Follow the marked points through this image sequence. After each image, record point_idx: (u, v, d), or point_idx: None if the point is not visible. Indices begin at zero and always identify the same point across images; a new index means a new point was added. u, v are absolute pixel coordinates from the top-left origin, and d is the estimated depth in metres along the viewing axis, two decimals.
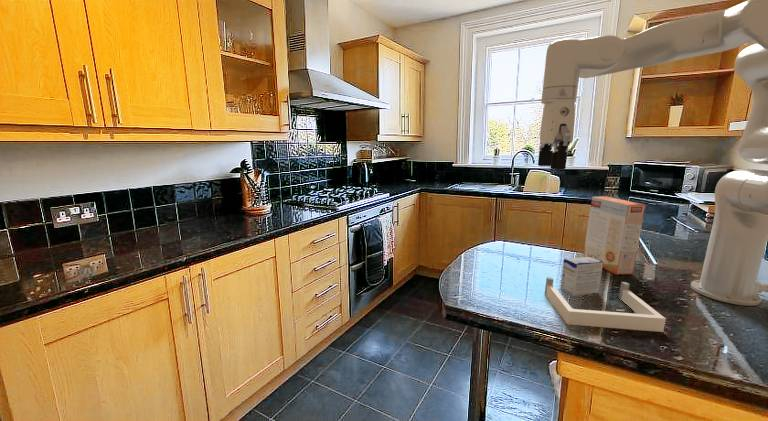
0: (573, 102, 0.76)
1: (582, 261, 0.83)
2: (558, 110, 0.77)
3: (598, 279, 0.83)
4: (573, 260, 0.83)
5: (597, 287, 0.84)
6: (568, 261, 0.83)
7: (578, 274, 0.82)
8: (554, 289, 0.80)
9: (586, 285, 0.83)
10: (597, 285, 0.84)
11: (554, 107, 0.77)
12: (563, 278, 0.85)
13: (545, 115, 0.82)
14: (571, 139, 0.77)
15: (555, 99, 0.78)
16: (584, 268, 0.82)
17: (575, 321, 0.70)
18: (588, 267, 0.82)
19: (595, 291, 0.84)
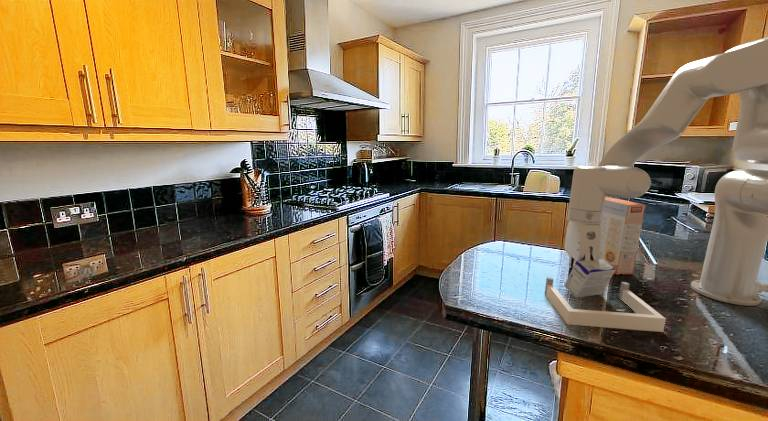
0: (599, 226, 0.80)
1: (595, 267, 0.79)
2: (585, 233, 0.80)
3: (605, 284, 0.81)
4: (586, 265, 0.79)
5: (601, 290, 0.82)
6: (580, 265, 0.79)
7: (588, 280, 0.79)
8: (554, 289, 0.80)
9: (591, 288, 0.81)
10: (602, 288, 0.82)
11: (581, 230, 0.81)
12: (570, 278, 0.83)
13: (571, 231, 0.85)
14: (597, 260, 0.81)
15: (582, 222, 0.81)
16: (595, 275, 0.78)
17: (575, 321, 0.70)
18: (599, 274, 0.79)
19: (598, 293, 0.83)
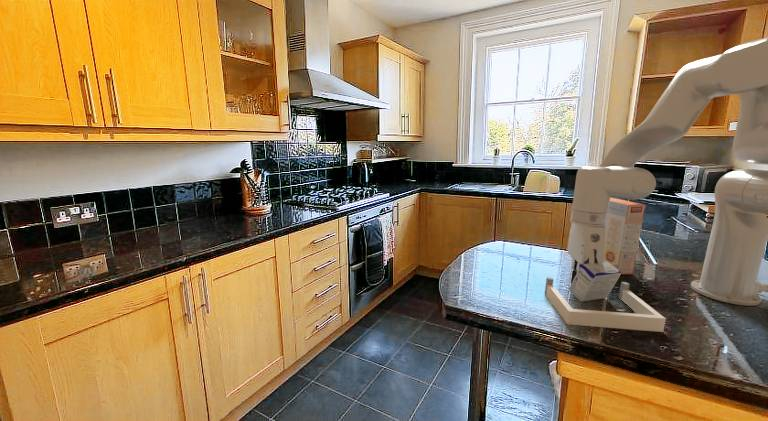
0: (604, 229, 0.78)
1: (600, 270, 0.77)
2: (589, 236, 0.78)
3: (610, 287, 0.79)
4: (591, 268, 0.77)
5: (607, 293, 0.80)
6: (586, 268, 0.78)
7: (593, 284, 0.77)
8: (554, 289, 0.80)
9: (597, 292, 0.79)
10: (608, 292, 0.80)
11: (584, 232, 0.79)
12: (575, 281, 0.81)
13: (574, 233, 0.83)
14: (601, 263, 0.79)
15: (585, 224, 0.79)
16: (600, 279, 0.76)
17: (575, 321, 0.70)
18: (605, 277, 0.77)
19: (604, 297, 0.81)
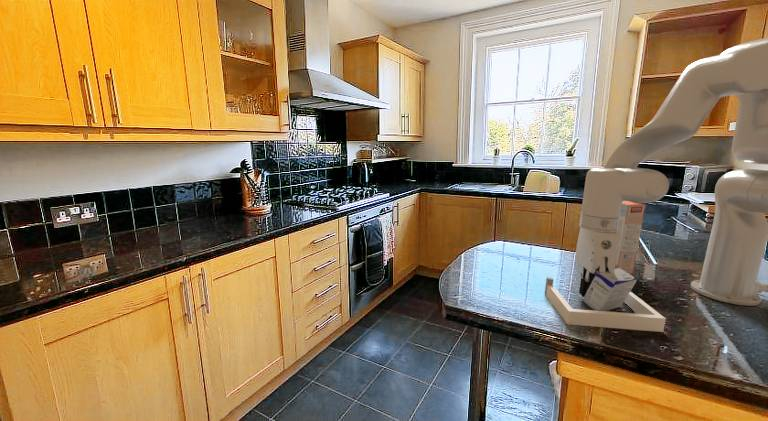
0: (615, 235, 0.73)
1: (617, 278, 0.72)
2: (599, 242, 0.73)
3: (626, 295, 0.75)
4: (608, 277, 0.73)
5: (622, 302, 0.76)
6: (603, 277, 0.73)
7: (612, 293, 0.72)
8: (554, 289, 0.80)
9: (613, 301, 0.74)
10: (623, 300, 0.76)
11: (595, 238, 0.74)
12: (590, 291, 0.75)
13: (583, 239, 0.78)
14: (613, 272, 0.74)
15: (596, 230, 0.74)
16: (619, 287, 0.72)
17: (575, 321, 0.70)
18: (623, 286, 0.72)
19: (618, 306, 0.77)
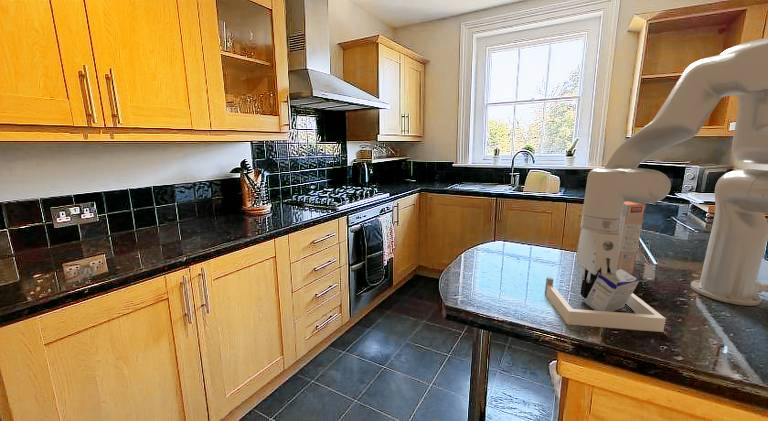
0: (617, 236, 0.72)
1: (619, 279, 0.72)
2: (601, 244, 0.73)
3: (628, 297, 0.75)
4: (610, 278, 0.72)
5: (624, 303, 0.76)
6: (605, 278, 0.72)
7: (614, 295, 0.71)
8: (554, 289, 0.80)
9: (616, 303, 0.74)
10: (625, 302, 0.75)
11: (597, 239, 0.73)
12: (592, 293, 0.75)
13: (585, 240, 0.78)
14: (614, 273, 0.73)
15: (598, 230, 0.73)
16: (621, 289, 0.71)
17: (575, 321, 0.70)
18: (625, 287, 0.72)
19: (621, 307, 0.76)
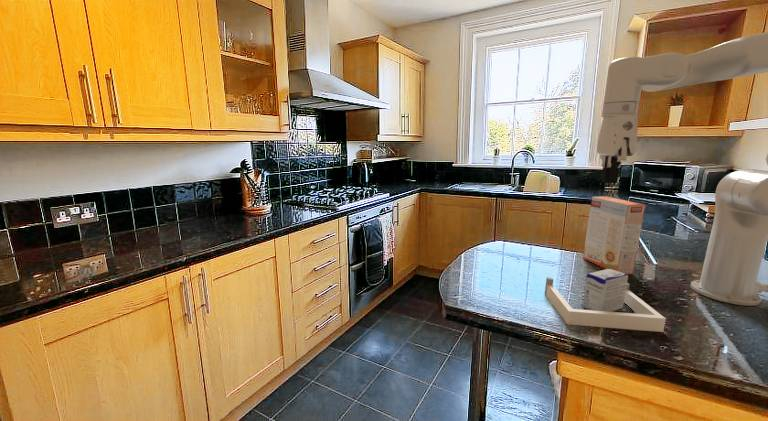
0: (636, 117, 0.81)
1: (608, 275, 0.74)
2: (621, 124, 0.81)
3: (623, 294, 0.76)
4: (598, 275, 0.74)
5: (622, 302, 0.76)
6: (593, 276, 0.74)
7: (607, 291, 0.73)
8: (554, 289, 0.80)
9: (612, 301, 0.74)
10: (622, 300, 0.76)
11: (617, 121, 0.81)
12: (587, 295, 0.76)
13: (605, 128, 0.86)
14: (633, 152, 0.82)
15: (618, 114, 0.82)
16: (611, 283, 0.73)
17: (575, 321, 0.70)
18: (615, 282, 0.73)
19: (620, 307, 0.76)
